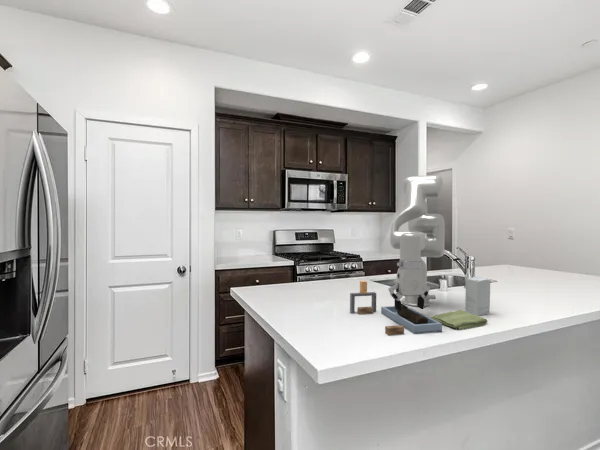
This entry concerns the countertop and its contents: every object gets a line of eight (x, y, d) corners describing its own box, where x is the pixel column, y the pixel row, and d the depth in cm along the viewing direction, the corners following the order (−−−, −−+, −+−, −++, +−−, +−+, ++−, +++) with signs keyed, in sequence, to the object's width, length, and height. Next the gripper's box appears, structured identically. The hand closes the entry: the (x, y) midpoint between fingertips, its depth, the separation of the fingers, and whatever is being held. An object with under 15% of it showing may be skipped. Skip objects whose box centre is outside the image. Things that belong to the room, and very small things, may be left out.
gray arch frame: (374, 310, 137) (374, 280, 137) (376, 311, 135) (376, 281, 135) (349, 311, 134) (350, 281, 134) (351, 312, 132) (352, 282, 132)
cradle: (370, 312, 134) (370, 306, 134) (404, 334, 109) (404, 327, 109) (357, 312, 133) (357, 307, 133) (388, 335, 108) (388, 328, 108)
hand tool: (428, 328, 113) (428, 315, 113) (417, 328, 113) (418, 315, 113) (403, 313, 132) (403, 301, 132) (394, 313, 131) (394, 302, 131)
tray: (404, 311, 135) (404, 305, 135) (442, 331, 112) (442, 323, 112) (381, 313, 133) (381, 306, 133) (414, 333, 109) (414, 325, 109)
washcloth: (428, 321, 125) (428, 313, 124) (460, 316, 132) (460, 308, 131) (456, 332, 112) (457, 323, 112) (490, 326, 120) (490, 317, 119)
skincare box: (477, 310, 139) (477, 276, 139) (490, 314, 134) (491, 278, 133) (464, 312, 135) (464, 277, 135) (477, 316, 130) (478, 280, 130)
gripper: (394, 267, 116) (393, 313, 117) (436, 265, 120) (435, 310, 121) (384, 264, 124) (384, 307, 124) (424, 262, 128) (423, 305, 128)
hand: (409, 309), depth 123 cm, fingers open, 9 cm apart
